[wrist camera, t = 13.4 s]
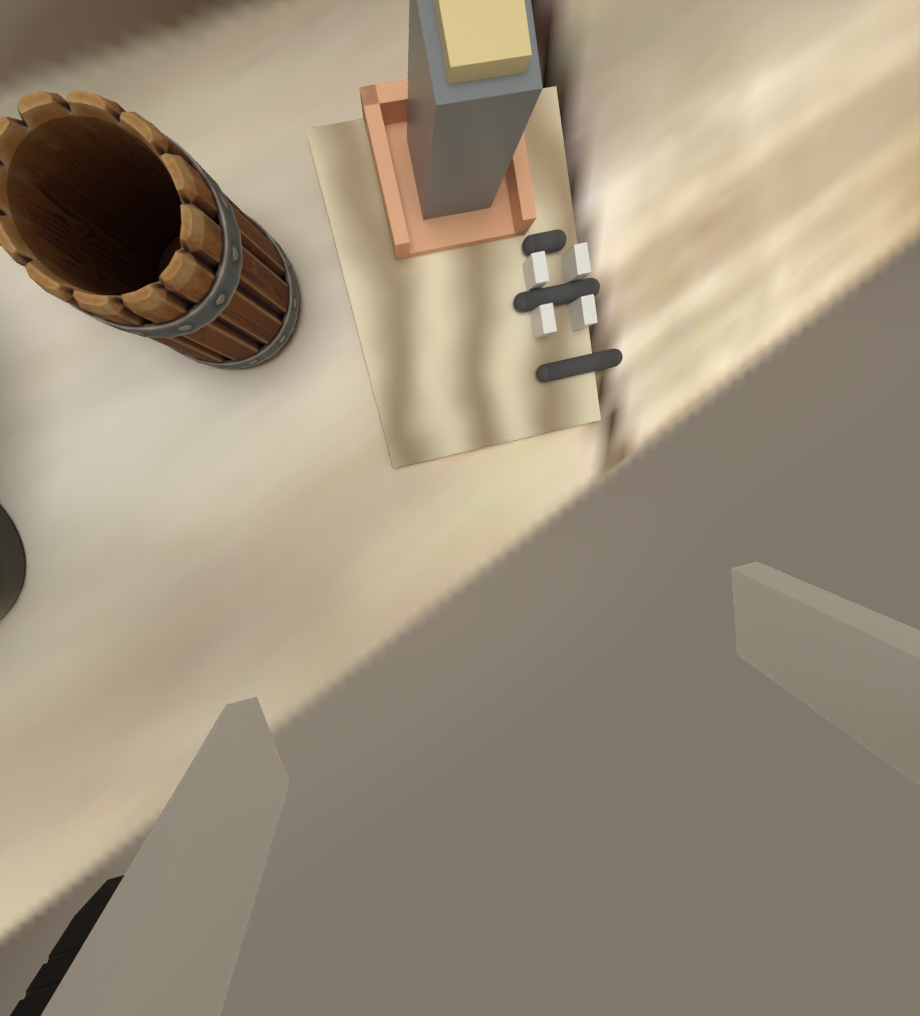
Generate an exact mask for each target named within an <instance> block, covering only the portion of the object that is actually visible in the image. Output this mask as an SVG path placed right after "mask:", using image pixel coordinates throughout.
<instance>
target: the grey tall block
mask: <svg viewBox="0 0 920 1016" xmlns="http://www.w3.org/2000/svg"><path fill="white" fill-rule="evenodd" d="M542 89H543V87H542V80H541V72H540V65H539V58H538V50H537V43H536V35H535V28H534V21H533V13H532V6H531V0H410V2H409V52H408V103H407V143H408V148H409V153H410V158H411V163H412V168H413V173H414V177H415V182H416V187H417V192H418V197H419V202H420V207H421V212H422V217H423V220H426V219H432V218H437V217H443V216H448V215H454V214H459V213H465V212H470V211H476V210H481V209H487V208H491V205H492V203H493V201H494V198H495V196H496V194H497V192H498V189H499V187H500V185H501V182H502V180H503V178H504V176H505V173H506V171H507V169H508V166H509V164H510V162H511V160H512V157H513V155H514V153H515V150H516V148H517V146H518V144H519V141H520V139H521V137H522V134H523V132H524V130H525V128H526V125H527V123H528V121H529V118H530V116H531V114H532V112H533V109H534V107H535V105H536V102H537V100H538V98H539V96H540V93H541V91H542Z"/></svg>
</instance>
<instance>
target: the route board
mask: <svg viewBox="0 0 920 1016" xmlns="http://www.w3.org/2000/svg"><path fill="white" fill-rule="evenodd" d="M306 131H307V135H308V139H309V143H310V146H311V150H312V154H313V158H314V162H315V166H316V170H317V174H318V178H319V181H320V185H321V189H322V193H323V197H324V201H325V205H326V209H327V213H328V216H329V220H330V224H331V228H332V232H333V236H334V240H335V244H336V247H337V251H338V255H339V259H340V263H341V267H342V271H343V275H344V279H345V282H346V286H347V290H348V294H349V298H350V302H351V306H352V310H353V314H354V317H355V321H356V325H357V329H358V333H359V337H360V341H361V345H362V348H363V352H364V356H365V360H366V364H367V368H368V372H369V376H370V380H371V383H372V387H373V391H374V395H375V399H376V403H377V407H378V411H379V415H380V418H381V422H382V426H383V430H384V434H385V438H386V442H387V446H388V449H389V453H390V457H391V461H392V465H393V469H394V468H398V467H402V466H407V465H411V464H415V463H419V462H424V461H428V460H432V459H436V458H441V457H445V456H449V455H453V454H458V453H462V452H466V451H471V450H475V449H479V448H483V447H488V446H492V445H496V444H500V443H505V442H509V441H513V440H517V439H522V438H526V437H530V436H534V435H539V434H543V433H547V432H552V431H556V430H560V429H564V428H569V427H573V426H577V425H581V424H586V423H590V422H594V421H598V420H601V417H600V410H599V402H598V395H597V387H596V380H595V372H594V371H593V372H589V373H584V374H580V375H576V376H571V377H567V378H562V379H558V380H553V381H549V382H541V381H539V380H538V378H537V376H536V371H537V369H538V367H539V366H541V365H543V364H547V363H551V362H556V361H560V360H565V359H569V358H574V357H578V356H583V355H587V354H592V350H591V342H590V335H589V328H588V327H586V328H584V329H579V330H575V331H572V327H571V320H570V313H569V306H568V305H569V304H570V303H572V302H570V303H565V304H560V305H555V306H553V308H554V315H555V322H556V328H557V331H556V332H554V333H552V334H550V335H548V336H547V337H542V338H538V339H534V335H533V329H532V323H531V317H530V312H532V311H533V310H532V311H527V312H519V311H517V310H516V309H515V307H514V298H515V297H516V295H517V294H519V293H521V292H525V291H526V286H525V280H524V274H523V268H522V264H523V263H524V262H525V261H526V259H527V258H528V257H529V256H528V255H526V254H525V253H524V251H523V249H522V244H523V241H524V239H525V238H526V237H527V236H528V235H531V234H536V233H541V232H547V231H552V230H557V229H559V230H562V231H564V233H565V234H566V237H567V241H566V244H565V246H564V247H563V248H562V249H561V250H559V251H556V252H551V253H546V254H545V255H546V262H547V269H548V275H549V281H548V282H547V283H546V284H545V285H544V286H543V287H542V288H545V287H550V286H554V285H559V284H564V283H565V278H564V271H563V264H562V256H563V255H564V254H565V253H566V252H567V251H568V250H569V249H570V248H571V247H572V246H573V245H576V244H577V238H576V231H575V223H574V216H573V208H572V201H571V193H570V186H569V179H568V171H567V164H566V156H565V149H564V141H563V134H562V126H561V119H560V111H559V104H558V97H557V89H556V86H555V87H549V88H543V89H542V91H541V93H540V96H539V98H538V100H537V102H536V105H535V107H534V109H533V112H532V114H531V116H530V118H529V121H528V123H527V125H526V128H525V130H524V137H525V144H526V150H527V157H528V163H529V170H530V176H531V183H532V189H533V196H534V202H535V209H536V216H537V218H536V220H535V221H534V222H533V224H532V225H531V227H530V228H529V230H528V231H527V232H526V234H525V235H522V236H516V237H511V238H506V239H501V240H496V241H491V242H486V243H481V244H476V245H471V246H465V247H460V248H455V249H450V250H445V251H440V252H435V253H430V254H425V255H420V256H414V257H409V258H404V259H399V260H396V259H395V254H394V250H393V246H392V241H391V237H390V232H389V228H388V224H387V219H386V215H385V211H384V206H383V202H382V197H381V193H380V189H379V184H378V180H377V176H376V171H375V167H374V162H373V158H372V154H371V149H370V145H369V141H368V136H367V132H366V127H365V123H364V119H360V120H354V121H348V122H342V123H336V124H330V125H324V126H318V127H312V128H306ZM581 280H582V279H581Z"/></svg>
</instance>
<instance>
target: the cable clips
mask: <svg viewBox="0 0 920 1016" xmlns="http://www.w3.org/2000/svg"><path fill="white" fill-rule="evenodd" d="M562 264H563V271H564V278H565V283H569V282H574V281H579V280H581V279H582V278H584V277H585V276H586V275H588V274H589V273H591V269H590V261H589V253H588V246H587V242H586V243H581V244H576V245H573V246H572V247H571V248H570V249H569V250H568V251H567V252H566V253H565V254H564V255H563V256H562ZM522 268H523V274H524V280H525V286H526V291H530V290H535V289H540V288H542V287H543V286H544V285H545V284H546V283H547V282H548V281H549V275H548V269H547V262H546V255H545V251H541V252H536V253H531V255H530V256H529V257H528V258H527V259H526V261H525V262H524V263H523V264H522ZM568 306H569V313H570V320H571V327H572V331H575V330H579V329H584V328H586V327H588V326H591V325H593V324H595V323H597V315H596V308H595V300H594V294H592V295H587V296H582V297H580V298H578V299H577V300H575V301H573V302H572V303H570V304H569V305H568ZM530 317H531V323H532V329H533V335H534V339H538V338H542V337H547V336H548V335H550V334H552V333H554V332H556V331H557V328H556V322H555V315H554V308H553V303H549V304H544V305H540V306H538V307H537V308H536V309H534V310H533V311H532V312H530Z"/></svg>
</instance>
